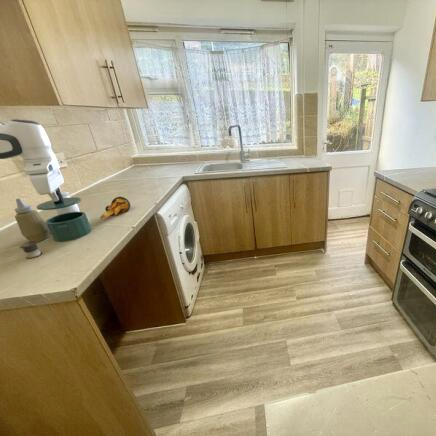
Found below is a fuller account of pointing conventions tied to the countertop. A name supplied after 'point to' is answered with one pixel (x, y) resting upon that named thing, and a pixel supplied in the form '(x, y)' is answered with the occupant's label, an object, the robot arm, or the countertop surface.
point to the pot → (68, 226)
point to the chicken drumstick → (117, 207)
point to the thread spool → (31, 249)
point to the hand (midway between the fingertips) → (57, 199)
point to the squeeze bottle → (30, 222)
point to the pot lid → (58, 202)
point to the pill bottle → (67, 209)
